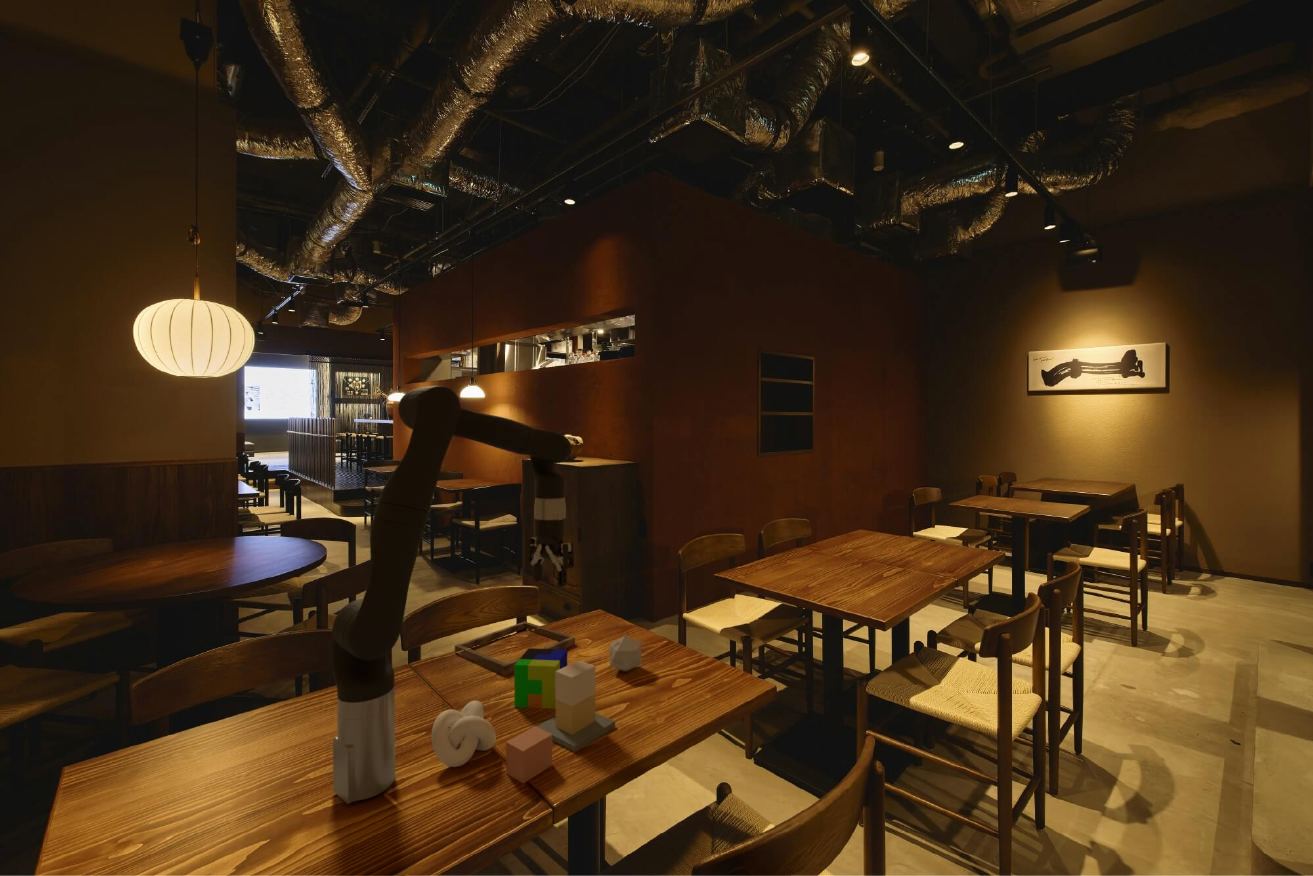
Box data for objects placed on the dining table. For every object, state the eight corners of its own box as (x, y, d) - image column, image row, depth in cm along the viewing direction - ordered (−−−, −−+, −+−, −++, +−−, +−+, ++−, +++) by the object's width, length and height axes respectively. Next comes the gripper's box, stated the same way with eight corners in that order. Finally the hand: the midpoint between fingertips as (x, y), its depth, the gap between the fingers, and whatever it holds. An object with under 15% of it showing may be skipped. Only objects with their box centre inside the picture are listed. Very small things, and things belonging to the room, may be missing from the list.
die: (604, 669, 147) (604, 632, 147) (634, 663, 151) (634, 627, 151) (615, 682, 139) (615, 643, 139) (647, 675, 143) (647, 637, 143)
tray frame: (504, 677, 142) (504, 666, 142) (454, 655, 156) (454, 645, 156) (575, 647, 162) (575, 637, 162) (525, 630, 176) (525, 621, 176)
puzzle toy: (567, 689, 135) (567, 649, 135) (556, 709, 125) (555, 666, 125) (528, 687, 136) (528, 648, 136) (514, 707, 126) (514, 664, 126)
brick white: (571, 706, 112) (571, 677, 112) (555, 699, 115) (555, 671, 115) (595, 693, 118) (595, 666, 118) (579, 687, 121) (579, 660, 121)
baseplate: (575, 752, 108) (575, 746, 108) (535, 732, 115) (535, 726, 115) (615, 726, 118) (615, 721, 118) (576, 709, 125) (576, 704, 125)
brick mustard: (571, 735, 112) (571, 706, 112) (555, 727, 115) (555, 699, 115) (595, 720, 118) (595, 693, 118) (579, 713, 121) (579, 687, 121)
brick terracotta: (523, 784, 99) (523, 751, 99) (506, 773, 102) (506, 741, 102) (552, 765, 104) (552, 734, 104) (535, 756, 107) (535, 725, 107)
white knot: (432, 743, 112) (432, 700, 112) (493, 732, 116) (492, 690, 116) (431, 775, 101) (430, 728, 101) (497, 761, 105) (497, 716, 105)
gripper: (518, 515, 132) (517, 581, 132) (558, 520, 123) (558, 591, 123) (542, 512, 138) (541, 575, 138) (582, 517, 129) (581, 585, 129)
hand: (549, 583), depth 130 cm, fingers open, 8 cm apart
